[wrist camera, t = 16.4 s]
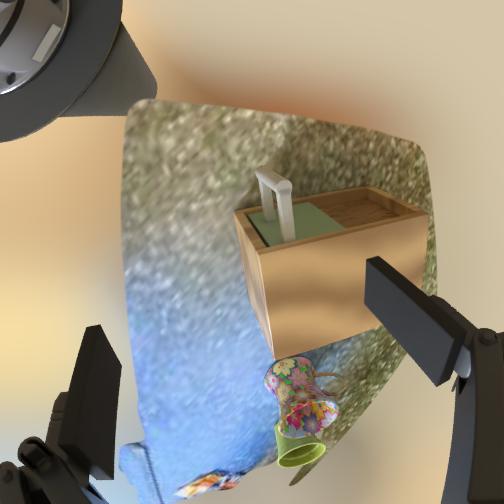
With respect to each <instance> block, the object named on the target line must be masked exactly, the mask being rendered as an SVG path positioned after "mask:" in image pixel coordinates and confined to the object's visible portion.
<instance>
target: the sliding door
mask: <svg viewBox="0 0 504 504" xmlns="http://www.w3.org/2000/svg"><path fill="white" fill-rule="evenodd" d="M256 176H257V178H258V180H259V186H260V193H261V200H262V207H263V211H262V212H258V213H253V214H248V220H249V222H250V223H251V225H252V226H253V228H254V229H255V231H256V232H257V234H258V235H259V237H260V238H261V240H262V241H263V243H264V244H265V246H266V247H271V246H276V245H280V244H284V243H288V242H293V241H297V240H301V239H305V238H310V237H314V236H318V235H322V234H327V233H331V232H335V231H339V230H344V229H346V228H345V227H343V226H342V225H341V224H339V223H338V222H336V221H335V220H334V219H332V218H331V217H330V216H328V215H327V214H325V213H324V212H323V211H321V210H320V209H318V208H317V207H316V206H314V205H313V204H311V203H310V202H306V203H301V204H296V205H292V199H291V191H292V183H291V182H290V181H289V180H287V179H286V178H284V177H282V176H281V175H279V174H277V173H276V172H274V171H272V170H271V169H269V168H267V167H266V166H260V167H258V168H257V169H256ZM272 190H274V191H275V192H276V197H277V205H278V208H277V209H274V203H273V195H272Z"/></svg>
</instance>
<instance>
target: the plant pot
mask: <svg viewBox="0 0 504 504" xmlns="http://www.w3.org/2000/svg"><path fill="white" fill-rule="evenodd" d="M278 424H279V420H278V422H277V424H276V425H275V426H274V429H275V434H276V440H277V445H278V451H279V453H278V460H277V463H278V465H279V466H280V467H284V468H292V467H298V466H302V465H305V464H307V463H310V462H312V461H314V460H315V459H317V458H318V457H320V456H321V455H322V454H323V453H324V452H325V450H326V446H325V444H324V443H322V442H321V441H320V440H319V439H317V437H316V436H315V435H314V434H313V435H310V436H306V437H302V438H288V437H285V436H283V435H281V434H280V432H279V430H278Z"/></svg>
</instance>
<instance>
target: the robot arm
mask: <svg viewBox="0 0 504 504" xmlns="http://www.w3.org/2000/svg"><path fill="white" fill-rule="evenodd" d="M71 18H72V0H0V95H6V94H9V93H12V92H15V91H17V90H19V89H21V88H23V87H24V86H26V85H27V84H29V83H30V82H31V81H33V80H34V79H35V78H36V77H38V76H39V75H40V74H41V73H42V72H43V71H44V70H45V68H46V67H47V66H48V65H49V64H50V62H51V61H52V60H53V59H54V57H55V56H56V54H57V53H58V51H59V49H60V48H61V46H62V44H63V42H64V40H65V38H66V35H67V33H68V30H69V26H70V23H71ZM364 304H365V306H366V307H367V308H368V309H369V310H370V311H371V312H372V313H373V314H374V315H375V317H376V318H377V319H378V320H379V321H380V322H381V323H382V324H383V325H384V327H385V328H386V329H387V330H388V331H389V332H390V333H391V335H392V336H393V337H394V338H395V339H396V340H397V341H398V342H399V344H400V345H401V346H402V347H403V348H404V349H405V350H406V352H407V353H408V354H409V355H410V356H411V357H412V359H413V360H414V361H415V362H416V363H417V364H418V366H419V367H420V368H421V369H422V370H423V371H424V373H425V374H426V375H427V376H428V377H429V378H430V379H431V381H432V382H433V383H434V385H435V386H436V387H437V386H439V385H441V384H443V383H444V382H446V381H448V380H449V379H450V377H451V375H452V373H453V370H454V371H455V372H456V373H457V374H458V376H457V378H456V380H455V382H454V385H453V387H452V390H451V391H452V392H453V391H454V389H455V387H456V396H455V413H454V424H453V434H452V442H451V450H450V457H449V464H448V470H447V475H446V481H445V486H444V491H443V496H442V500H441V504H504V332H501V333H496V332H495V331H493V330H491V329H488V328H480V329H477V328H476V327H475V326H474V325H473V324H472V323H471V322H469V321H468V320H467V319H466V318H465V317H464V316H463V315H461V314H460V313H459V312H457V310H456V309H454V308H453V307H451V305H450V304H448V303H447V302H446V301H445V300H444V299H442V298H440V297H438V296H435V295H432V296H429V297H428V296H427V295H426V294H425V293H424V292H423V291H421V290H420V289H419V288H418V287H417V286H415V285H414V284H413V283H412V282H411V281H409V280H408V279H407V278H406V277H405V276H403V275H402V274H401V273H400V272H398V271H397V270H396V269H395V268H394V267H392V266H391V265H390V264H389V263H387V262H386V261H385V260H384V259H382V258H381V257H380V256H375V257H372V258H368V259H366V273H365V294H364ZM121 368H122V365H121V363H120V361H119V360H118V358H117V356H116V354H115V352H114V351H113V348H112V347H111V345H110V343H109V341H108V339H107V337H106V335H105V333H104V331H103V329H102V327H101V325H95V326H90V327H86V331H85V333H84V336H83V340H82V343H81V347H80V350H79V353H78V357H77V360H76V364H75V368H74V371H73V375H72V379H71V383H70V387H69V391H68V392H61V393H60V394H59V396H58V397H57V399H56V400H55V402H54V406H53V410H52V412H53V413H52V414H51V418H50V419H51V421H50V423H49V427H48V432H47V436H46V441H45V443H44V442H43V441H42V440H41V439H40V438H38V437H29V438H27V439H25V440H24V441H23V442H22V443H21V444H20V447H19V448H18V459H19V461H20V462H22V463H23V464H24V465H25V466H21V467H17V466H15V465H14V464H13V463H12V462H8V461H6V462H3V463H1V464H0V504H109V503H108V502H107V501H106V500H105V499H104V498H103V497H102V495H101V494H100V493H99V492H98V491H97V489H96V488H95V487H94V486H93V485H92V484H91V483H90V482H89V474H90V475H92V476H93V477H94V478H95V479H96V480H114V454H115V433H116V420H117V407H118V396H119V387H120V377H121Z"/></svg>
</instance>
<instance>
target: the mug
mask: <svg viewBox="0 0 504 504" xmlns="http://www.w3.org/2000/svg"><path fill="white" fill-rule="evenodd" d="M316 372H317V371H316V370H315V369H314V366H313V364H312V362H311V361H310V360H308V359H307V358H304V357H290V358H286V359H283V360H281V361H279V362H277V363H276V364H274V365H273V366H272V367H271V368H270V369H269V370H268V372H267V373H266V375H265V379H264V384H265V386H266V388H267V389H268V390H269V391H271V392H272V393H273V395H274V396H275V398H276V400H277V403H278V406H279V424H278V430H279V432H280V434H281V435H283V436H285V437H288V438H302V437H306V436H310V435H313V434H315V433H317V432H319V431H321V430H323V429H324V428H326V427H327V426H329V425H330V424H331V423H332V422H333V421H334V420H335V418H336V417H337V415H338V413H339V405H338V403H337V402H336V401H334V400H332V399H331V398H329V397H328V396H336V395H339V394H340V393H342V392H343V391H344V389H345V387H346V380H345V379H344V378H343V377H342V376H341V375H339V374H336V373H330V372H325V373H318V374H316ZM321 376H335V377H338V378H340V379H341V380H342V381H343V385H342V387H341V389H340V390H338V391H337V392H334V393H328V392H326V391H325V390H321V389H320V388H319V386H318V385H317V383H316V381H315V378H314V377H321ZM322 391H323V392H324V393H325V394H324V393H323V392H322ZM327 395H328V396H327Z"/></svg>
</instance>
